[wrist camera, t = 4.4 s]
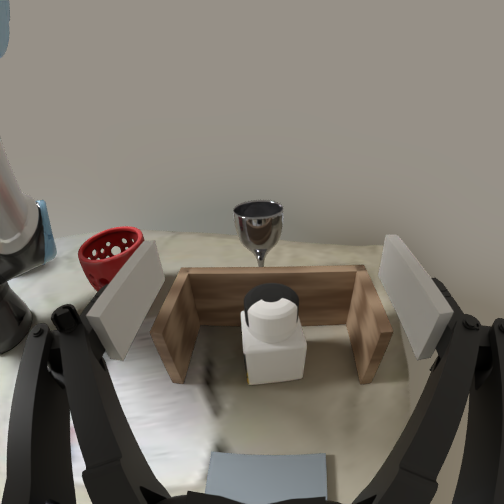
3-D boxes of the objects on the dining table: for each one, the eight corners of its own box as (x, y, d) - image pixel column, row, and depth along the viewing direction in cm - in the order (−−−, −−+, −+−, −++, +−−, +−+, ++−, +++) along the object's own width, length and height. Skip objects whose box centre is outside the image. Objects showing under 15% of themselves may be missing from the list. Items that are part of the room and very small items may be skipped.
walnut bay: (370, 383, 30) (393, 331, 25) (172, 382, 32) (149, 332, 27) (353, 317, 41) (363, 264, 36) (193, 318, 43) (181, 267, 38)
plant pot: (86, 307, 46) (64, 255, 40) (123, 272, 57) (108, 224, 51) (133, 323, 42) (110, 264, 37) (169, 280, 53) (155, 226, 47)
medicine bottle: (244, 345, 38) (236, 278, 32) (293, 340, 38) (296, 273, 32) (247, 386, 32) (239, 321, 26) (303, 379, 32) (311, 313, 26)
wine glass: (256, 304, 46) (251, 222, 38) (232, 282, 52) (224, 207, 44) (292, 286, 49) (293, 208, 42) (266, 267, 55) (263, 196, 48)
